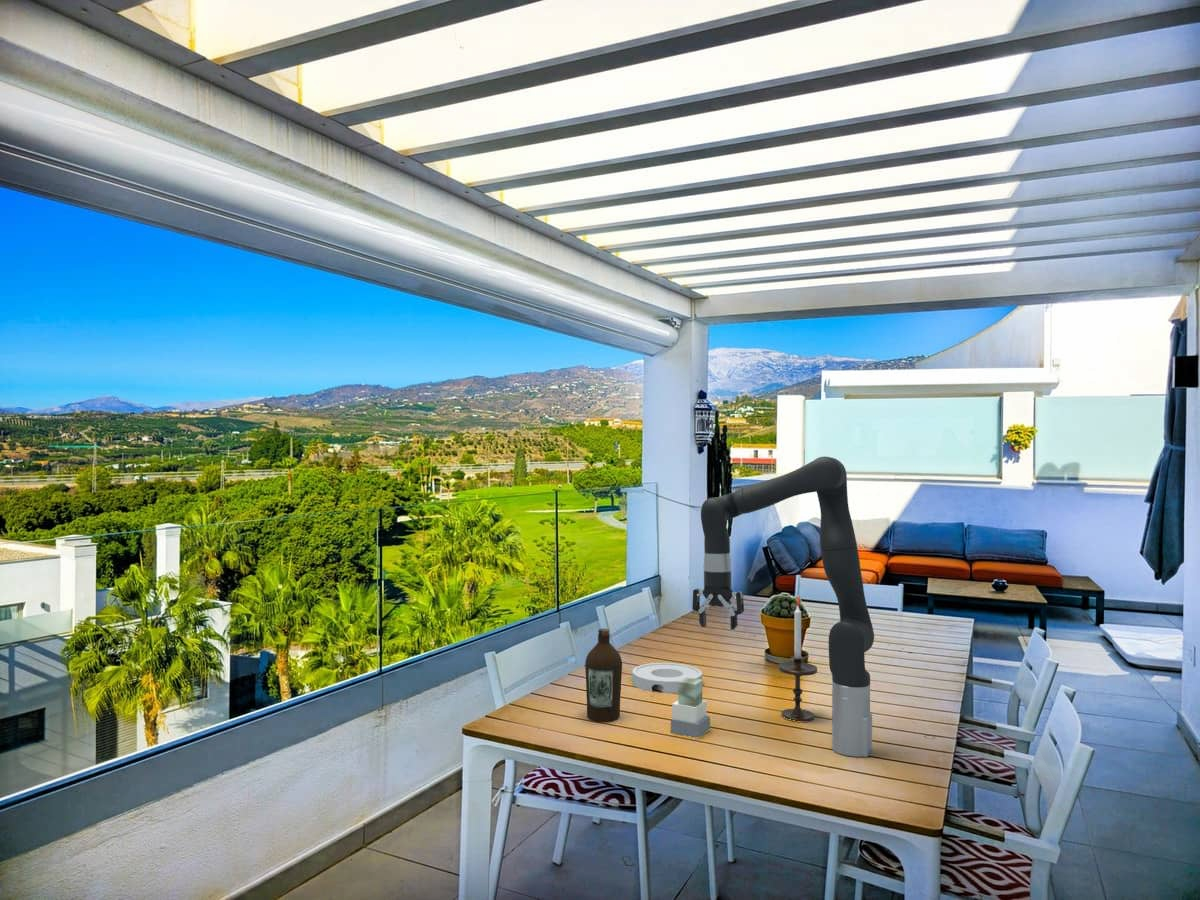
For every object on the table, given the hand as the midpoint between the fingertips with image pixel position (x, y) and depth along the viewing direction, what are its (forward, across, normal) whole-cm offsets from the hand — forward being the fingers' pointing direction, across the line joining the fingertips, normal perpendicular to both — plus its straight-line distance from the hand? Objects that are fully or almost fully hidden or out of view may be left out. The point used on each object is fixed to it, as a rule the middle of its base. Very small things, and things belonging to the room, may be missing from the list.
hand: (718, 627), depth 214 cm
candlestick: (+28, -17, -20) cm, 38 cm away
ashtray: (+27, +30, -33) cm, 52 cm away
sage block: (+20, +6, +7) cm, 22 cm away
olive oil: (+27, +32, +8) cm, 43 cm away
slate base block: (+28, +6, +7) cm, 29 cm away
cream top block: (+24, +6, +6) cm, 25 cm away
